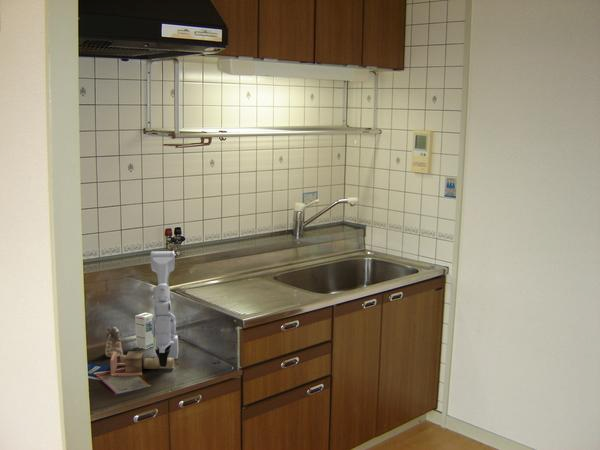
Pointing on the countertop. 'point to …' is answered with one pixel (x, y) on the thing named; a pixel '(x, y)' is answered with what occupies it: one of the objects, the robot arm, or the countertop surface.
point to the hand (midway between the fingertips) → (163, 364)
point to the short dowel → (122, 358)
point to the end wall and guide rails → (114, 364)
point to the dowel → (157, 363)
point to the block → (134, 362)
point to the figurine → (113, 342)
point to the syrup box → (144, 331)
